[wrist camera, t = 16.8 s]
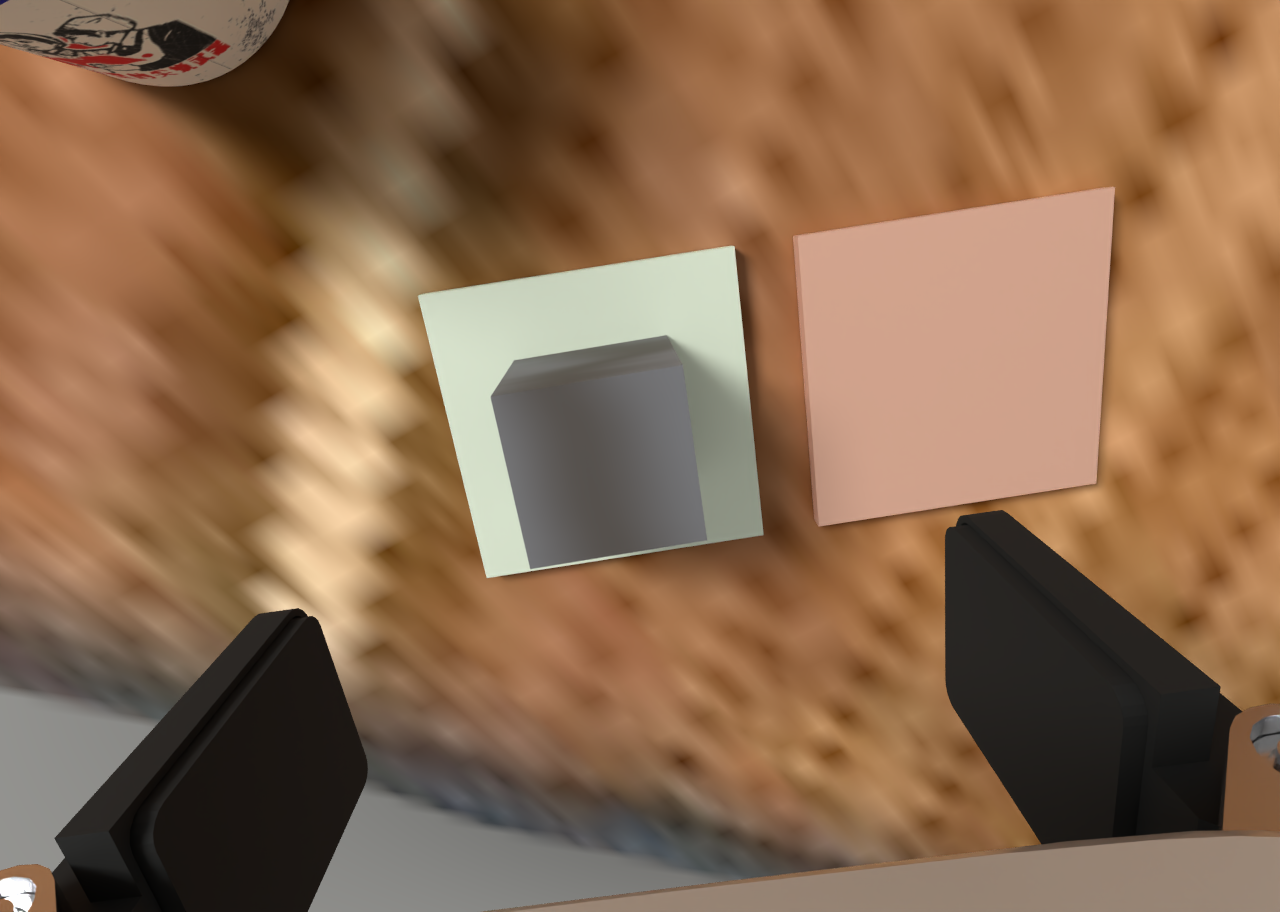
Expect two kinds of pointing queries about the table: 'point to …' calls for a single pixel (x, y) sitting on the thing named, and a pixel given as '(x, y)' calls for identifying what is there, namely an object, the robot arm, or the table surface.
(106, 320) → the table surface
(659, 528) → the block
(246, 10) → the teacup with lid
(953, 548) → the robot arm
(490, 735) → the table surface
